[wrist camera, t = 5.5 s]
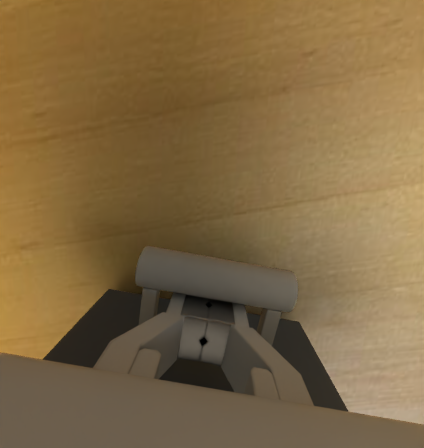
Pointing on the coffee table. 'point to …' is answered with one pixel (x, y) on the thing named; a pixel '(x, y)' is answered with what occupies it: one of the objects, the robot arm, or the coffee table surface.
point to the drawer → (207, 288)
